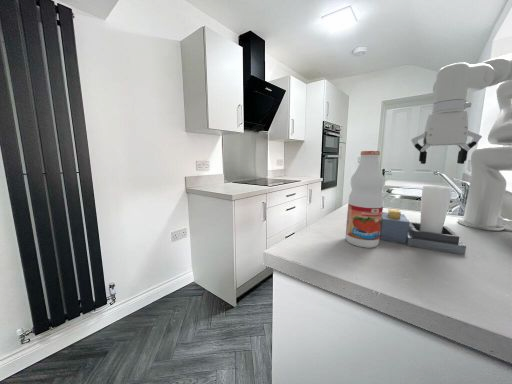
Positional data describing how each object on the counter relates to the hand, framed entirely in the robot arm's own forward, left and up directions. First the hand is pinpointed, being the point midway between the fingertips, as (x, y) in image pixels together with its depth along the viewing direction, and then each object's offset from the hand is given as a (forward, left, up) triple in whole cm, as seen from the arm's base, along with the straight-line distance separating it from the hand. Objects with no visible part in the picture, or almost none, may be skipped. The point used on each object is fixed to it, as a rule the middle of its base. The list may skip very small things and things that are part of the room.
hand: (441, 163), depth 69 cm
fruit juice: (+21, +19, -25) cm, 38 cm away
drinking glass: (+2, +8, -22) cm, 24 cm away
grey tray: (+7, +9, -24) cm, 27 cm away
